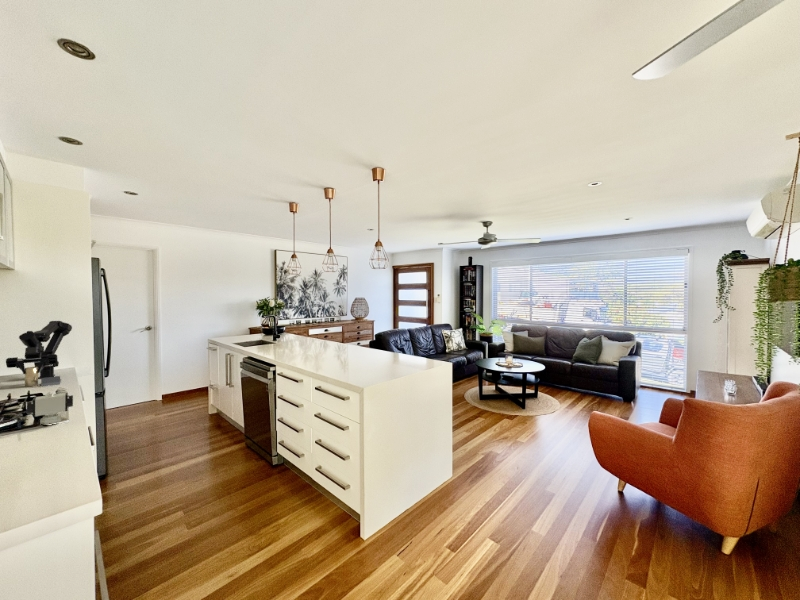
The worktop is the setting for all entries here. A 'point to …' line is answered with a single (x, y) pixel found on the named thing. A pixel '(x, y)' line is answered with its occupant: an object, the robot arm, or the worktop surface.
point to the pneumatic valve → (50, 407)
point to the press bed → (50, 381)
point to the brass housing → (31, 376)
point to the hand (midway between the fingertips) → (31, 373)
